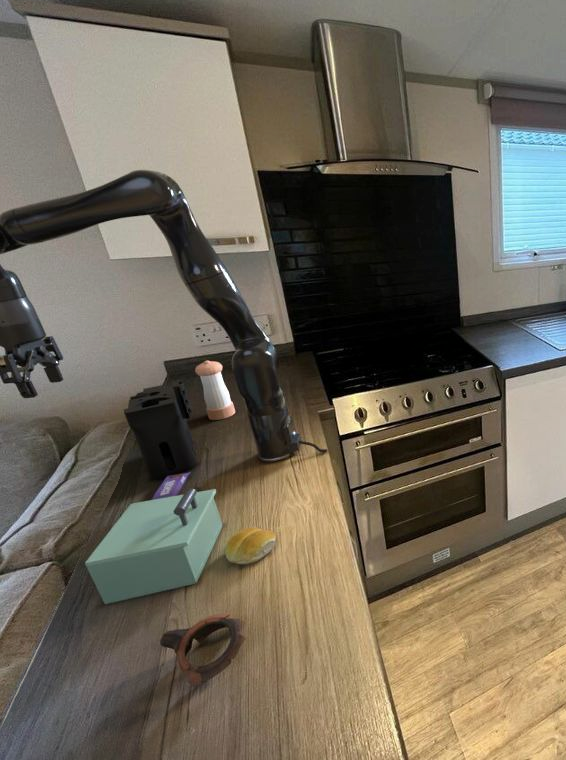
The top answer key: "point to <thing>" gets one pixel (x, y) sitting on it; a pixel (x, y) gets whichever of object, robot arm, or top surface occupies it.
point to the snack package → (171, 486)
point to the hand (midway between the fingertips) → (44, 389)
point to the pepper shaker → (215, 391)
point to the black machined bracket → (162, 428)
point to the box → (158, 565)
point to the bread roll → (249, 545)
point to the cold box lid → (153, 526)
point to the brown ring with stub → (200, 631)
